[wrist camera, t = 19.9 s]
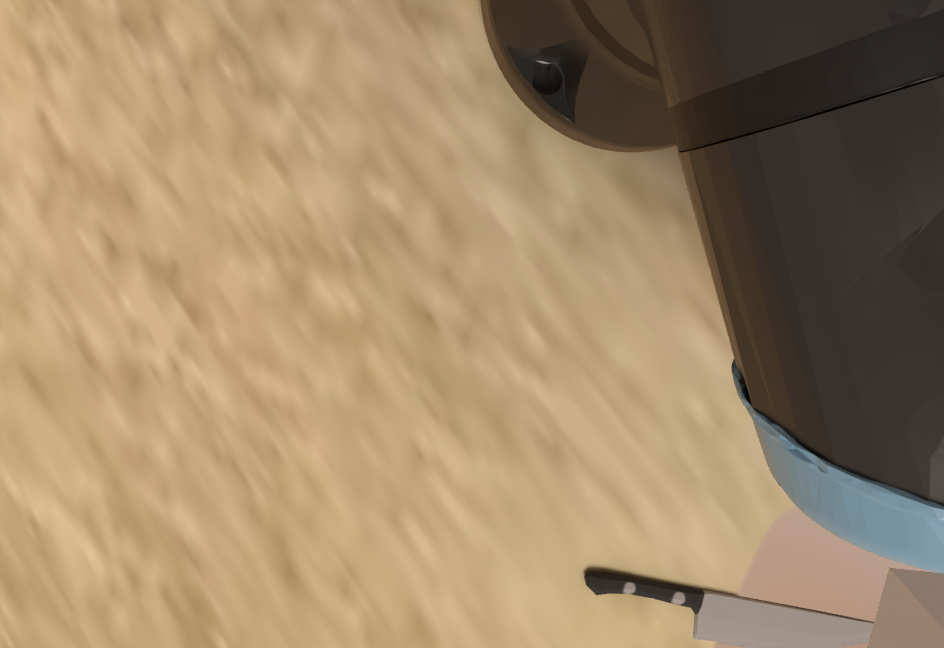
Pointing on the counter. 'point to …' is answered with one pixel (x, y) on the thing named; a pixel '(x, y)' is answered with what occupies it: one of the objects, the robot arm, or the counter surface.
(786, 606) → the chef's knife
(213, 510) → the counter surface
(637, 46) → the robot arm
